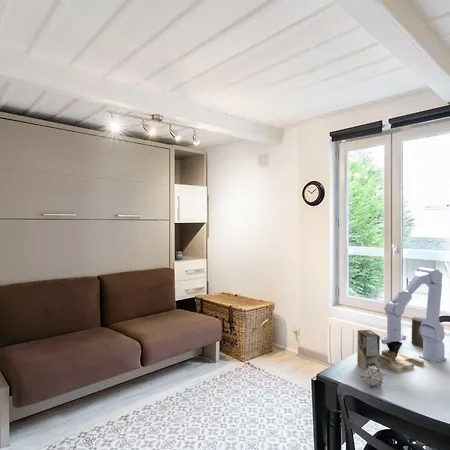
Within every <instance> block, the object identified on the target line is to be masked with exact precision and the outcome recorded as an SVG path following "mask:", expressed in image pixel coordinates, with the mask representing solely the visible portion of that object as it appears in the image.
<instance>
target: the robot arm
mask: <svg viewBox="0 0 450 450" xmlns="http://www.w3.org/2000/svg"><path fill="white" fill-rule="evenodd" d="M413 274H414V276H413V278H412V279H411V281H409V283H408V285H407V286H406V287H405V289H401V290H400V291H398V292H397V294H396V295H395V296H394V298H393V299H392V300H391V301H388V302H387V303H386V304H385V306H384V308H383V309H384V312H385V313H386V318H387V319H386V320H387V322H386V325H387V327H386V328H387V329H386V331H387V332H386V335H385V337H384V338H381V344H383V345H387V349H388V350H390V351H393V352H395V358H396V357H397V354H398V352H400V348H401V347H402V345H403V342H401V341H407V336H406V335H404V334H401V333H402V332H401V331H402V324H401V322H402V316H403V314H404V313H405V309H406V306H408V304H409V302H410V301H411V300H412V299H413V297H412V295H413V293H415V292H416V291H417V290H418V289H419V288H420V287H421V286H422V285H424V284H425V285H426V286H427V287H428V293H427V304H426V313H425V314H426V315H425V318H426V319H425V320H423V321H422V323H421V326H420V329H419V332H420V335H421V336H422V338H423V347H422V354H419V356H418V357H419V358H422V359H425V360H427V361H430V362H433V363H436V362H440V361H444V360H447V357H445V343H444V341H443V340H445V337H446V334H445V330H444V329H445V327H444V325H443V324H442V323H441V322H440V312H441V300H442V289H443V273H442V272H441V271H440V270H439V269H437V268H435V269H434V268H429V267H428V268H427V267H422V266H420V267H418V268H417V269H416V270H415V271H414V272H413Z"/></svg>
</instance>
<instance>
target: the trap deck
mask: <svg viewBox="0 0 450 450" xmlns="http://www.w3.org/2000/svg"><path fill="white" fill-rule="evenodd" d="M415 365H416V366H419V367H424V366H425V362H424V360H421V359H419V358H417V357H416V358H415V357H412V356H411V355H408V354H405V353H403V352H400V351H398V354H397V357H396V358H395V361H393V362H392V359H391V358H389V357H386V356H384V355H382V352H380V354H379V366H381V367H383V368H386V369H387V370H391V371H392V372H395V373H403V372H406V371H410V370H413V369H415Z"/></svg>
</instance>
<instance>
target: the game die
mask: <svg viewBox="0 0 450 450" xmlns="http://www.w3.org/2000/svg"><path fill="white" fill-rule="evenodd" d="M366 367H367V366H366ZM385 376H387V374H384V373H383V371H382V370H380V368H379V369H378V368H377V367H376V364H375V366H371V367H367V368H366V369H365V371H364V373H363V375H362V376H360V378H362V379H364V380H365V381H366V382H367V384H368V385H369V386H370V389H372V387H376V386H380V387H382V384H383V379H384V378H385Z"/></svg>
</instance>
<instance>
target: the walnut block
mask: <svg viewBox="0 0 450 450" xmlns="http://www.w3.org/2000/svg"><path fill="white" fill-rule="evenodd" d="M381 353H382V355H384V356H386V357H389V358H391V359H392V362H393V361H395V352H393V351H390V350H389V349H384V350H381Z"/></svg>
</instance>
